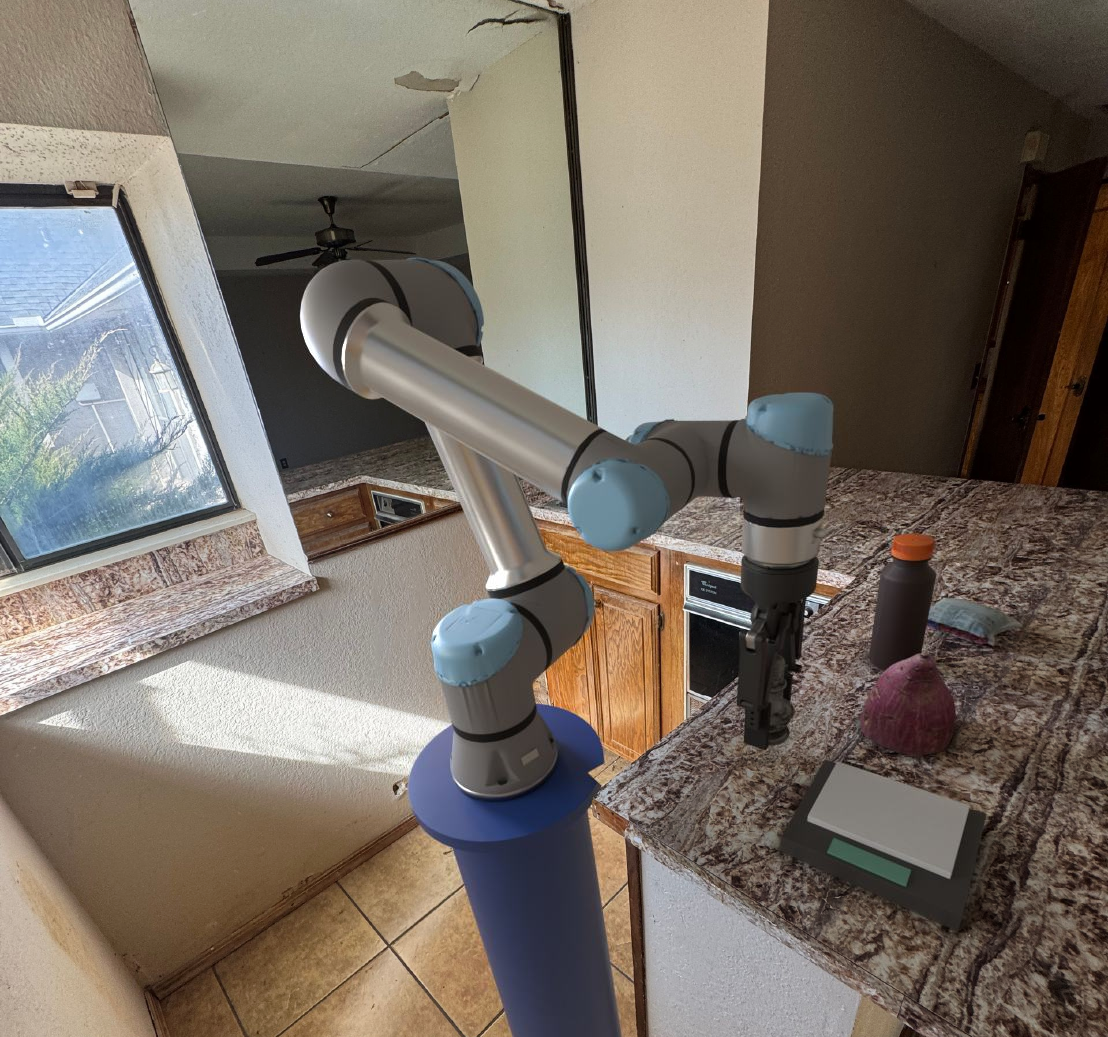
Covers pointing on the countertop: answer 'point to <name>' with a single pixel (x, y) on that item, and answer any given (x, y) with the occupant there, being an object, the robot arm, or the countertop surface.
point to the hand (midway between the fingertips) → (766, 729)
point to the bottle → (903, 601)
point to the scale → (888, 840)
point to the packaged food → (969, 620)
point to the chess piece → (779, 706)
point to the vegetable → (910, 708)
